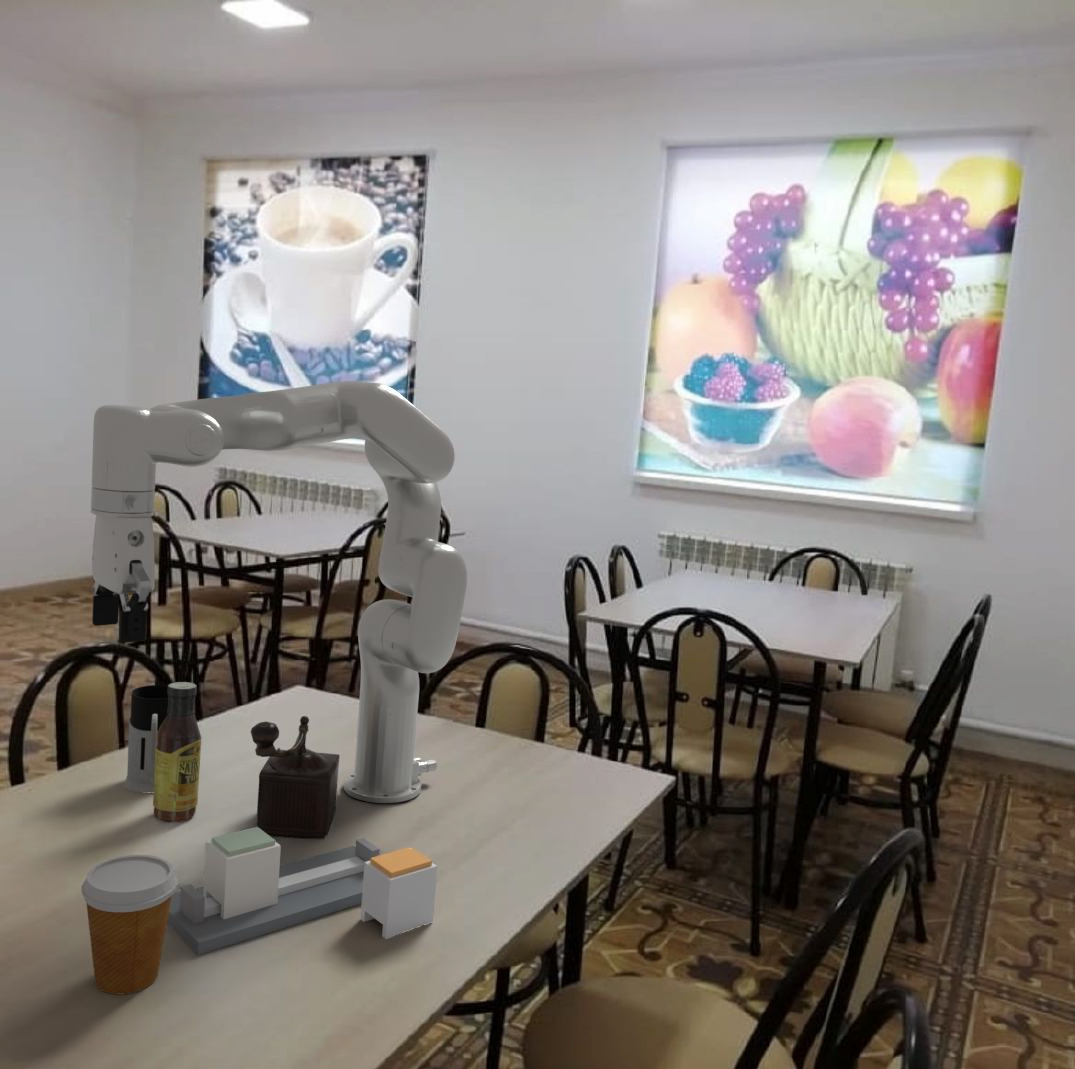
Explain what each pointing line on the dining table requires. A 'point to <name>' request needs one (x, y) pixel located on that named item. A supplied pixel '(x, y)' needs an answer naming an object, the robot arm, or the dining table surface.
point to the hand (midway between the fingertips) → (118, 632)
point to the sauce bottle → (177, 757)
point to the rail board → (276, 912)
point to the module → (399, 891)
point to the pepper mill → (294, 786)
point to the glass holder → (145, 735)
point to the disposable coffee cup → (128, 919)
